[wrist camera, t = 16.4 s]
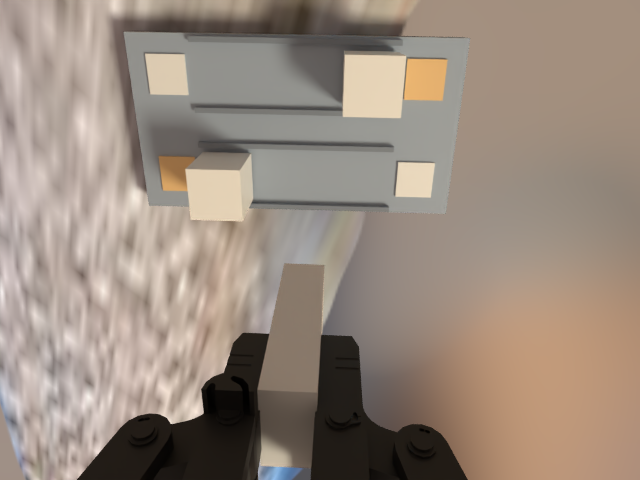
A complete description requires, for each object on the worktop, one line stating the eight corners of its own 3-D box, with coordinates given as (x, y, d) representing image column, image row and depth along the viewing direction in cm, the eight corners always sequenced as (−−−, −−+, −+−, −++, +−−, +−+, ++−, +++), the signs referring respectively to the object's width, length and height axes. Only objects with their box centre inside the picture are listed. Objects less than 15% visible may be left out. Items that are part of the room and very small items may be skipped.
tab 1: (203, 151, 39) (185, 169, 34) (251, 153, 39) (239, 170, 34) (207, 197, 40) (190, 219, 36) (253, 198, 40) (242, 221, 36)
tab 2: (343, 50, 35) (344, 54, 31) (397, 51, 35) (406, 55, 31) (342, 105, 37) (342, 116, 32) (393, 106, 37) (400, 118, 32)
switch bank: (133, 31, 37) (120, 31, 35) (463, 37, 37) (471, 38, 34) (156, 197, 43) (146, 207, 41) (441, 205, 42) (446, 215, 40)
